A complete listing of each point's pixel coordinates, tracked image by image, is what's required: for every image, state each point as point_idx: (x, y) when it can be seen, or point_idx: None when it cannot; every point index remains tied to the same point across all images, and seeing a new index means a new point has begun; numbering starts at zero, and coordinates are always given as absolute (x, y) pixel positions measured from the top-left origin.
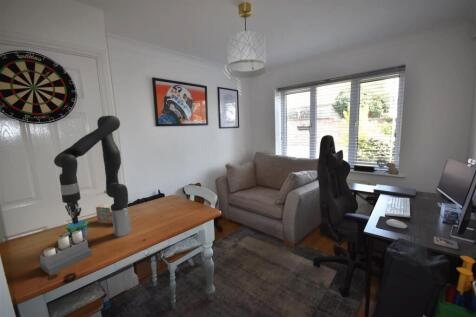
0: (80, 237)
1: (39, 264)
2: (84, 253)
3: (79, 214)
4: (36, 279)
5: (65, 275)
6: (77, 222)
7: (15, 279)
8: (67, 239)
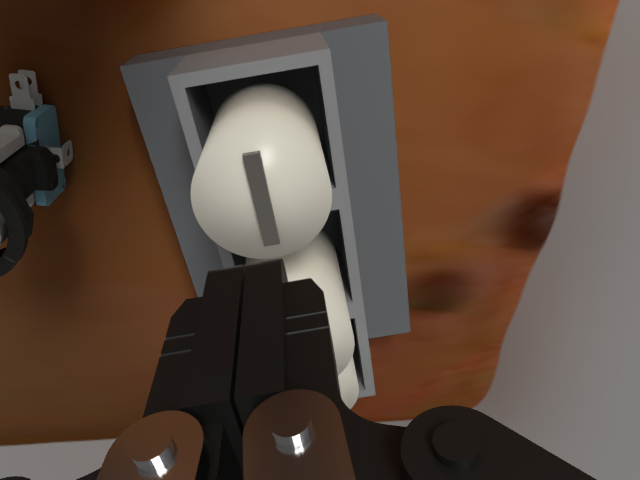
0: (318, 141)
1: None
2: (391, 92)
3: (558, 469)
4: (375, 353)
5: (502, 241)
6: (285, 279)
7: None
8: (340, 301)
